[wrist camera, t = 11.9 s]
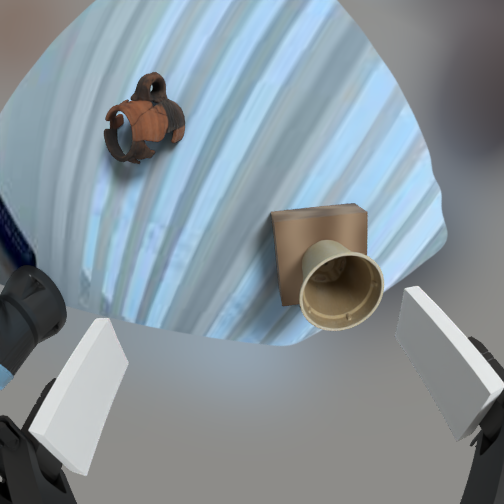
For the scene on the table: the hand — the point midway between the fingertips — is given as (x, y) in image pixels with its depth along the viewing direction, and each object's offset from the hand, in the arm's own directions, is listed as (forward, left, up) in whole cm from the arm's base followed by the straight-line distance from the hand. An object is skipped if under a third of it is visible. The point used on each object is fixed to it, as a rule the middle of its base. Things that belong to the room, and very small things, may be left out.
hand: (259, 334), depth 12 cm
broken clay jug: (-12, +13, -29) cm, 34 cm away
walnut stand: (+8, -8, -29) cm, 31 cm away
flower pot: (+8, -8, -24) cm, 27 cm away
